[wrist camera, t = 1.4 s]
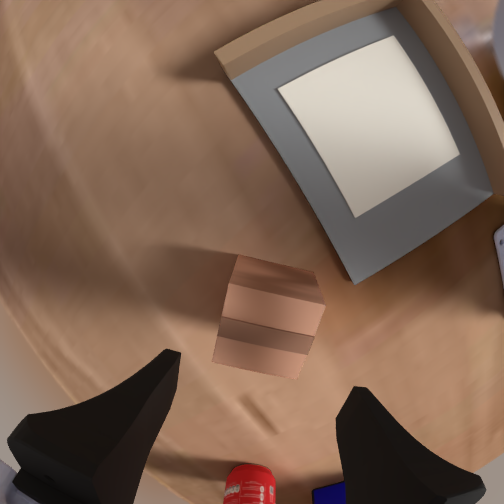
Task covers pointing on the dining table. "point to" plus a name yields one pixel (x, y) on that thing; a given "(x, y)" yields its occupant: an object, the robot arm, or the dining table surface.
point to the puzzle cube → (330, 494)
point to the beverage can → (250, 485)
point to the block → (268, 318)
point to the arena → (373, 120)
